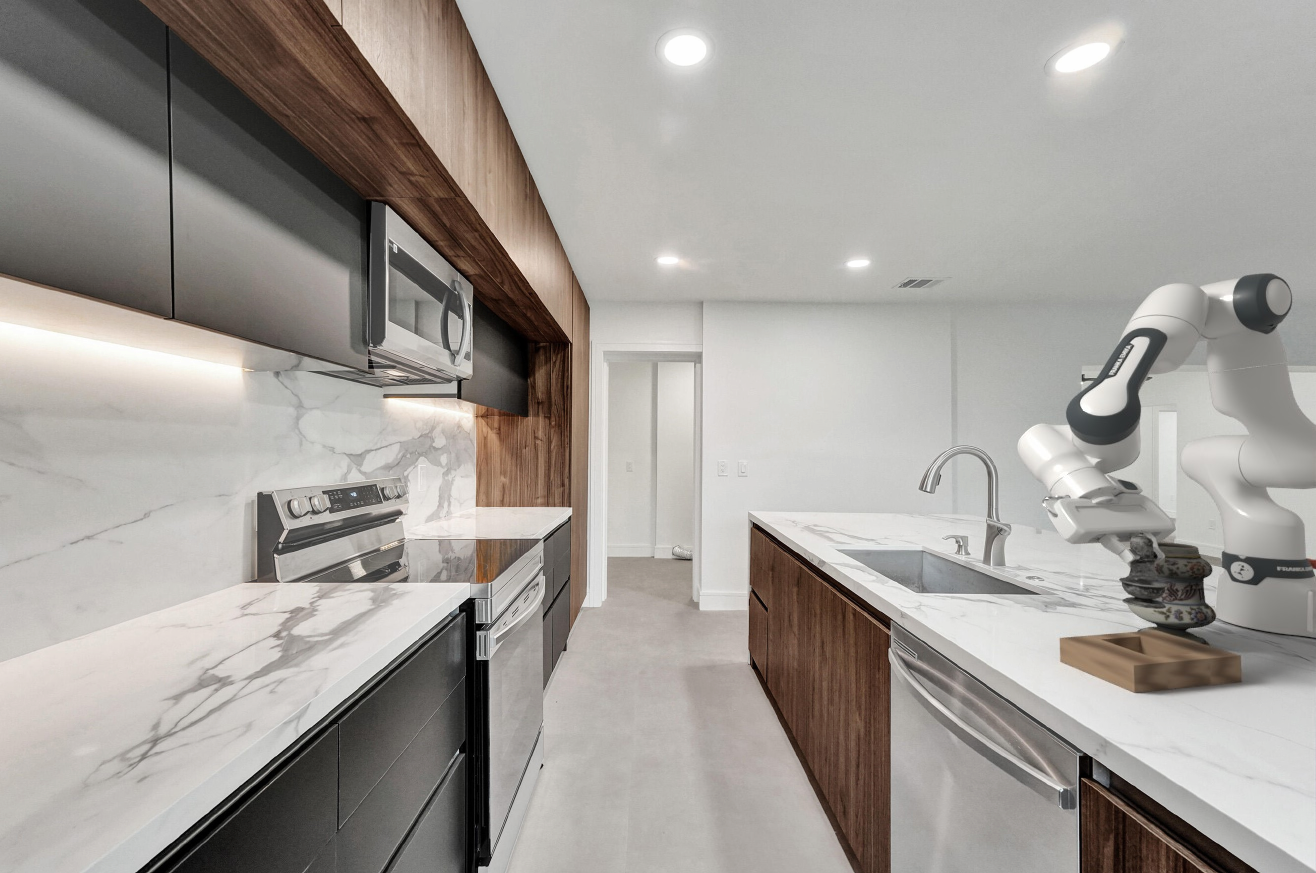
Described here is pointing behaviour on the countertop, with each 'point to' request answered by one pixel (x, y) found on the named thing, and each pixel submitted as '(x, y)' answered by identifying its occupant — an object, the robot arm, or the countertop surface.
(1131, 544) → the salt shaker
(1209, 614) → the apothecary jar
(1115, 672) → the wooden tray
